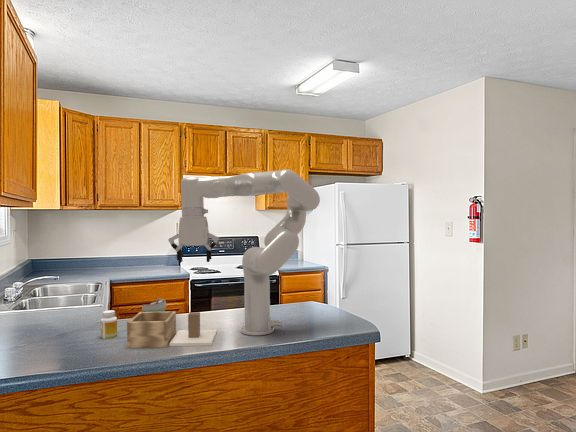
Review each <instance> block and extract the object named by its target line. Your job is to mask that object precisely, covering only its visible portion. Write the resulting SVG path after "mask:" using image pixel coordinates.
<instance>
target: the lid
mask: <svg viewBox="0 0 576 432" xmlns="http://www.w3.org/2000/svg"><path fill="white" fill-rule="evenodd" d="M187 324H188V325H187V327H188V329H182V330H181V329H180V330H179V329H178V331H176V335H175V336H174V338H173V339H172V340H171V342H170V343H169V345H168V347H198V346H200V347H202V346H207V347H208V346H210V347H211V346H213V343H214V342H215V341H214V340H215V338H216V336H217V335H218V334H217V333H218V329H201V312H199V311H197V312H196V311H194V312H192V311H190V312H189V313H188V315H187Z"/></svg>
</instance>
